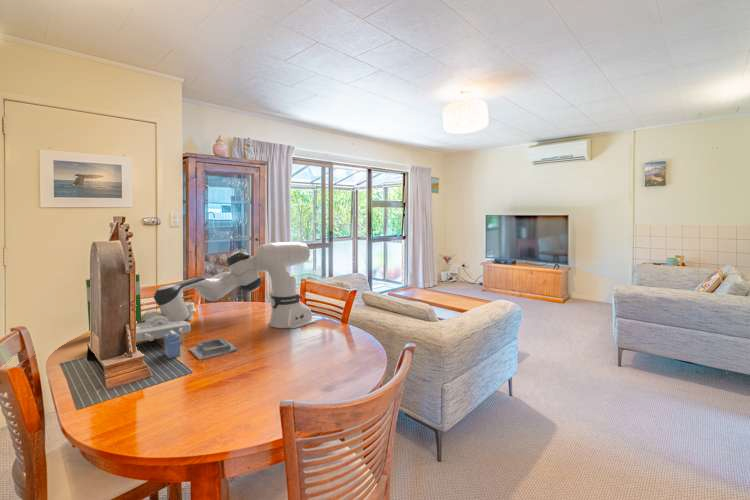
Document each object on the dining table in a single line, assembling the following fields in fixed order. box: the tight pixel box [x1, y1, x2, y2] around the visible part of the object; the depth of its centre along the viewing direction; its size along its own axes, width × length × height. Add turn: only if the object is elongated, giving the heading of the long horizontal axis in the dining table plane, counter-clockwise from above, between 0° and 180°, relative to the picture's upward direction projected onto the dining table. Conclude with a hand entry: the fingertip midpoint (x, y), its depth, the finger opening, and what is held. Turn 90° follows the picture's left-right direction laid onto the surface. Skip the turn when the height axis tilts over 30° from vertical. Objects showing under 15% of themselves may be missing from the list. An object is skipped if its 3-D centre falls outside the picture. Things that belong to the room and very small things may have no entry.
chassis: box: [189, 337, 239, 361], centre depth 142 cm, size 14×12×2 cm
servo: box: [162, 330, 182, 359], centre depth 137 cm, size 4×8×9 cm, turn 41°
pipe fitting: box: [185, 301, 197, 321], centre depth 181 cm, size 6×7×8 cm
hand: (166, 336), depth 141 cm, fingers open, 8 cm apart
